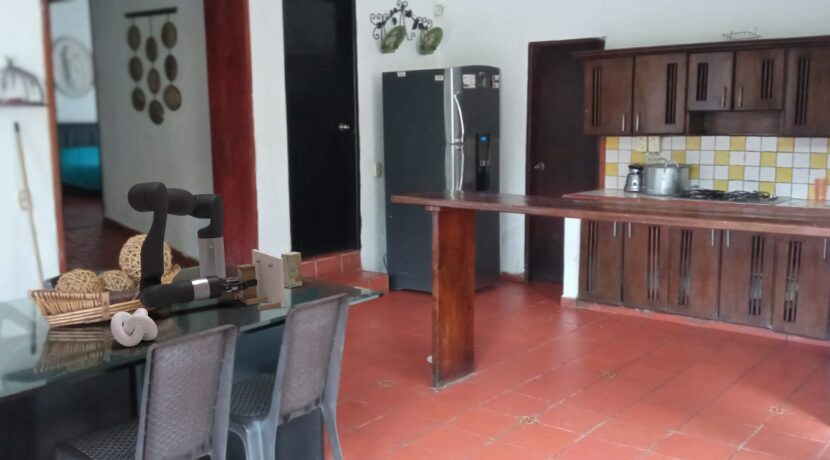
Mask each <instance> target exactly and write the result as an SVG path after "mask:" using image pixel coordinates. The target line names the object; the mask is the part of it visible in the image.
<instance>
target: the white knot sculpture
mask: <svg viewBox="0 0 830 460" xmlns="http://www.w3.org/2000/svg"><path fill="white" fill-rule="evenodd" d="M148 315H149V313H148V310H147V309H146V308H143V307H141V308H140V307H139V308H137V309H135V312H133V313H132V314H131V313H129V312H126V311H119V312H117V313H115V314H114V315H112V317H111V321H110V331H111V335H112V336H113V337H114V339H115V340H116V341H117V342H118V344H120V345H121V346H123V347H126V348H131V347H135V346H137V345H138V344H139V343H140V342H141V341H142V340H143V341H146V342H148V341H153V340H155V338H157V336H158V332H159V331H158V326H157V325H156V322H155V321H154V320H153V319H152V318H151V317H150V316H148Z"/></svg>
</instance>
